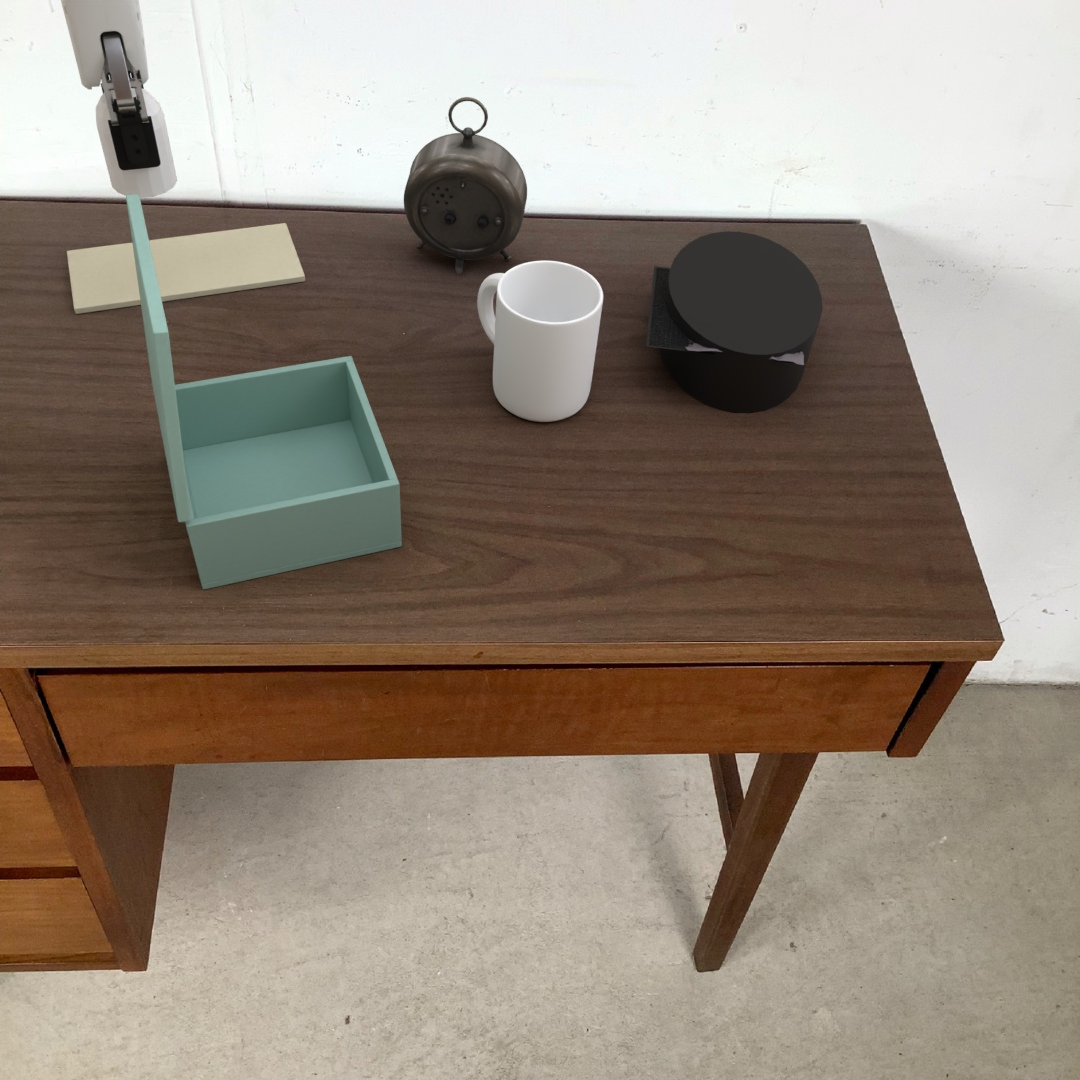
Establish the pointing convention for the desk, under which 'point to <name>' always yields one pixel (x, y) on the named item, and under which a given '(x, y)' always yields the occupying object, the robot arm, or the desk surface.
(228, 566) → the mint green open box
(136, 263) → the lid
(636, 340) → the desk surface
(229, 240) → the mat
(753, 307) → the black round box
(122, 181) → the capsule
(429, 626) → the desk surface
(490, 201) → the alarm clock
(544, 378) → the mug
